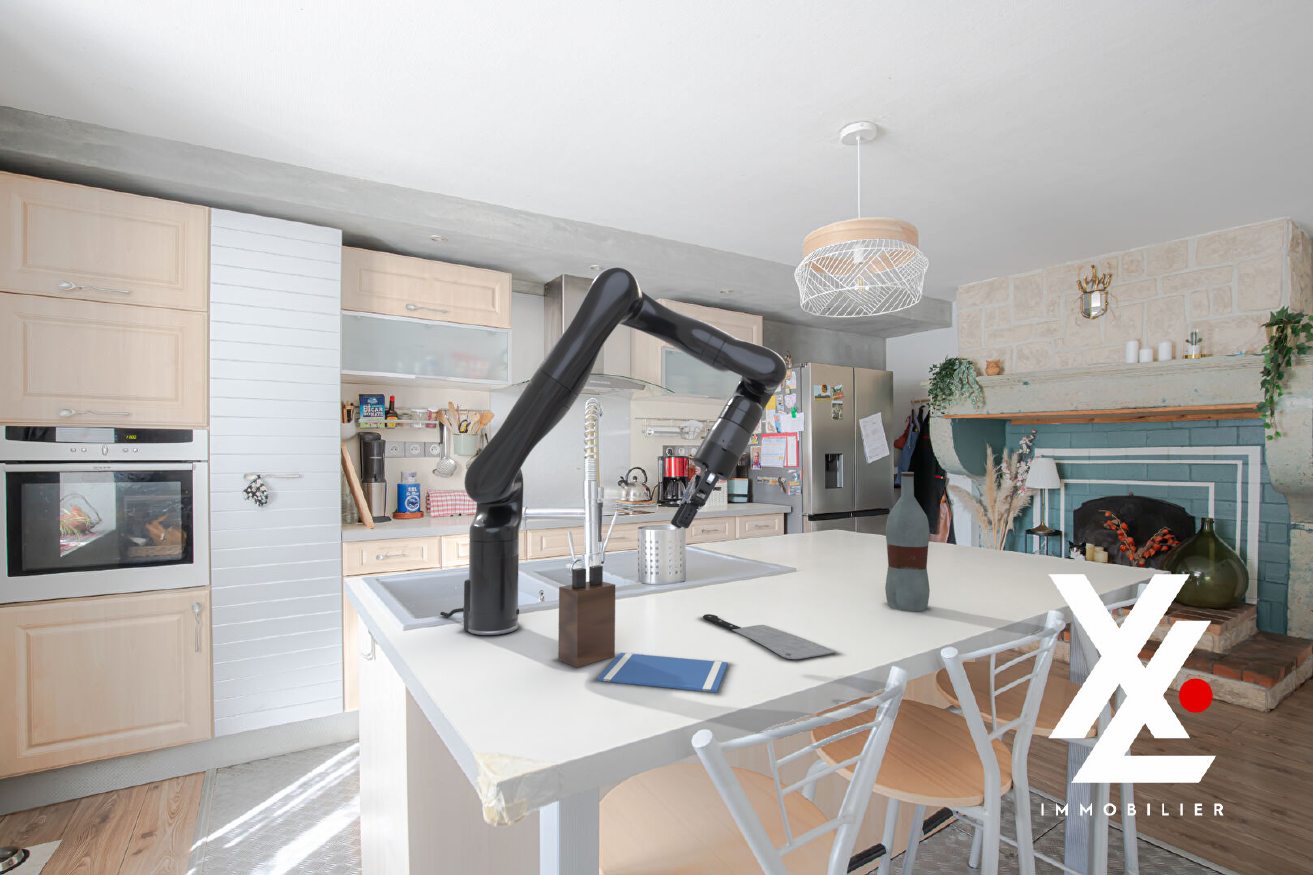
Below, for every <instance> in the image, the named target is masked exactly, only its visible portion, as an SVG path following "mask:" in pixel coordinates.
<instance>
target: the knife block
mask: <svg viewBox="0 0 1313 875" xmlns="http://www.w3.org/2000/svg"><path fill="white" fill-rule="evenodd" d="M588 570H589V571H588V573H589V574H588V576H589V577H588V581H587V568H584V567H578V568H573V569H571V573H572V574H571V584H568V585H562V586H558V648H557V649H558V652H557V654H558V655H557V658H558V659H557V660H558V661H559V662H562V663H565V664H566V665H568V666H571V667H574V668H576V669H578V668H581V667H584V666H587V665H591V664H595V663H598V662H601V661H604V660H607V659H611V658H614V657H615V656H616V584H615V583H612V582H611V583H610V582H606V581H603V580H604V576H603V575H604V574H603V573H604V566H603V565H600V564H596V565H591V566H589V569H588Z"/></svg>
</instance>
